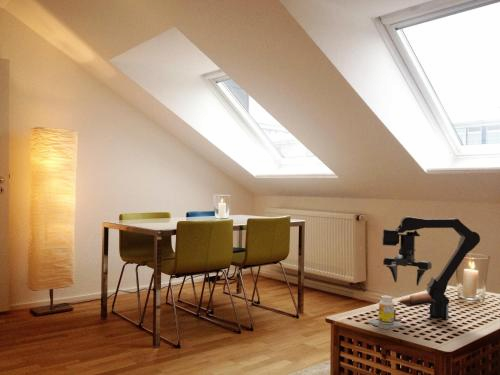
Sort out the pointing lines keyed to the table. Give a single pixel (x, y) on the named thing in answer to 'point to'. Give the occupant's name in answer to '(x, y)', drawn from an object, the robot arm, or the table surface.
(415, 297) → the sunglasses case
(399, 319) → the brown wooden block
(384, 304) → the supplement bottle
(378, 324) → the slate grey mat
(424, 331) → the table surface
